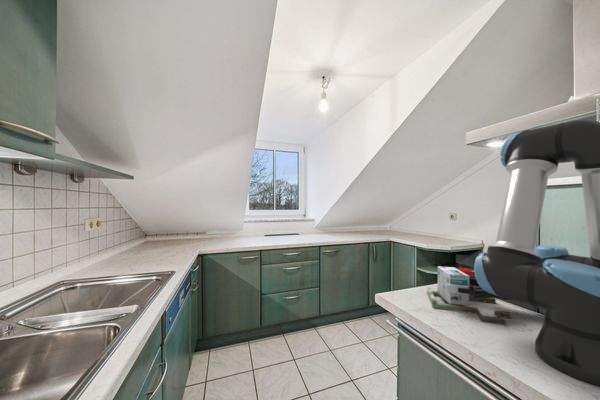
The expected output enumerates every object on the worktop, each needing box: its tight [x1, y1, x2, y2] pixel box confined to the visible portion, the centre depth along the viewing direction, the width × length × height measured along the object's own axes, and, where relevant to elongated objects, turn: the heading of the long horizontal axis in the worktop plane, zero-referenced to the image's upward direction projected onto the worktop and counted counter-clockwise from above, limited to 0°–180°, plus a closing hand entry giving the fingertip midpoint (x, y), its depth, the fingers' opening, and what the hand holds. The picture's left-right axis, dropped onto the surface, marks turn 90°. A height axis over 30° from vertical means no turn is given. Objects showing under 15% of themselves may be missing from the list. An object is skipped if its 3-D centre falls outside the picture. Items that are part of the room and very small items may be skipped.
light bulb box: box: [436, 265, 470, 306], centre depth 89 cm, size 11×7×11 cm, turn 172°
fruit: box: [455, 264, 475, 287], centre depth 104 cm, size 9×9×10 cm
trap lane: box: [426, 287, 512, 326], centre depth 87 cm, size 25×23×2 cm
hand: (442, 282), depth 90 cm, fingers open, 12 cm apart
